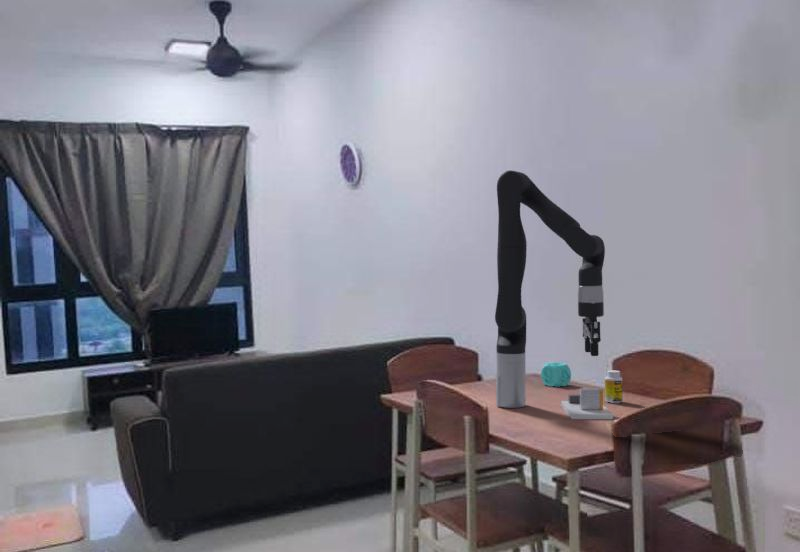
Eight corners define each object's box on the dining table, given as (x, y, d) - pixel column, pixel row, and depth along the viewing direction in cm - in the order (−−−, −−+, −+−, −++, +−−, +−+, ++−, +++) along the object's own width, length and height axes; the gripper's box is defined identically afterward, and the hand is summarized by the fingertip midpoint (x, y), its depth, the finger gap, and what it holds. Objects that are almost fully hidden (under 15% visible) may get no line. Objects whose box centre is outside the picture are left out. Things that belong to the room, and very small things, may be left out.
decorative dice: (571, 385, 277) (571, 363, 277) (558, 388, 272) (557, 366, 272) (554, 382, 283) (554, 361, 283) (540, 385, 278) (540, 363, 278)
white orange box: (581, 409, 225) (581, 389, 225) (579, 408, 228) (579, 388, 228) (603, 409, 225) (603, 389, 225) (601, 408, 228) (601, 388, 228)
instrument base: (571, 419, 220) (571, 403, 220) (561, 405, 240) (561, 391, 240) (613, 419, 219) (613, 403, 219) (598, 405, 239) (598, 391, 239)
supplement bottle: (614, 404, 241) (614, 373, 241) (601, 401, 246) (601, 370, 245) (626, 402, 244) (626, 371, 244) (612, 399, 249) (612, 369, 248)
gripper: (573, 299, 233) (574, 351, 234) (582, 302, 219) (583, 357, 219) (598, 299, 233) (599, 350, 233) (608, 301, 219) (609, 356, 219)
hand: (591, 354), depth 226 cm, fingers open, 8 cm apart
